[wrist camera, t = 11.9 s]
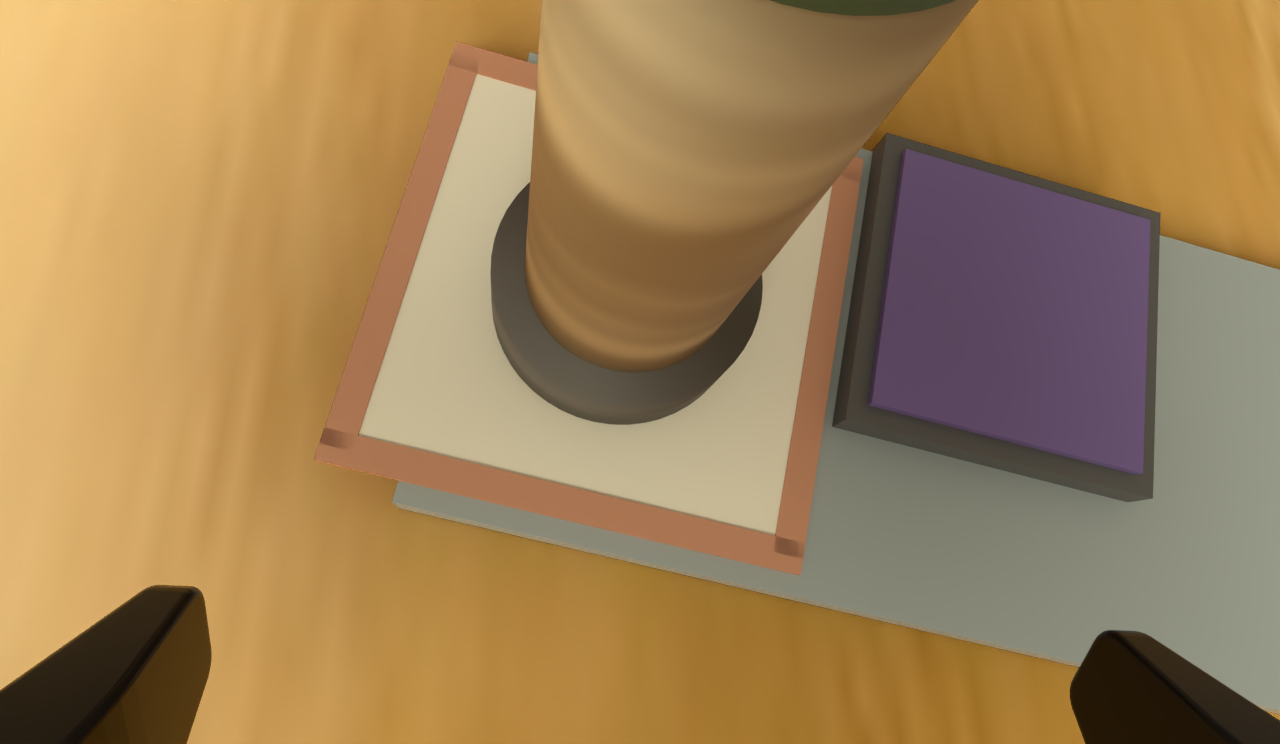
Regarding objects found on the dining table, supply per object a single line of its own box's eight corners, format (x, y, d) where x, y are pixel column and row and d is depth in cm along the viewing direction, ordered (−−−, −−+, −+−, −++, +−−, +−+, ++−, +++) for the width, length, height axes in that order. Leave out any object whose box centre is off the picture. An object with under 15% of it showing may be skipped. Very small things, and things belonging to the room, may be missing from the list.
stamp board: (320, 490, 16) (296, 474, 14) (464, 59, 19) (460, 1, 17) (1400, 742, 18) (1501, 758, 16) (1374, 320, 21) (1457, 294, 19)
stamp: (631, 478, 16) (1139, -5, 3) (436, 305, 16) (198, -760, 3) (786, 299, 17) (1537, -498, 5) (606, 145, 17) (866, -993, 5)
